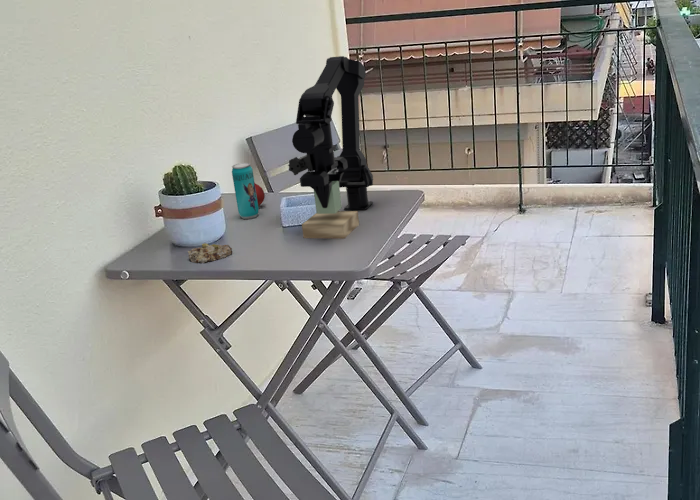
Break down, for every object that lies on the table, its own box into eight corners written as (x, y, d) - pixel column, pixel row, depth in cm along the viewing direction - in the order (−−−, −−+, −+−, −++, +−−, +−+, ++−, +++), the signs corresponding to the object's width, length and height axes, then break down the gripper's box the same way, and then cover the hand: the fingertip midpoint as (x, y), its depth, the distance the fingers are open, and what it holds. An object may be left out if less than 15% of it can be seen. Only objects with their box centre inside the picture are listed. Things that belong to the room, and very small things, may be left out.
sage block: (323, 207, 193) (320, 181, 191) (341, 207, 192) (338, 180, 189) (316, 213, 189) (313, 186, 186) (335, 213, 187) (332, 186, 185)
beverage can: (249, 220, 209) (241, 168, 204) (235, 218, 213) (226, 166, 208) (263, 214, 214) (255, 162, 209) (249, 212, 217) (241, 161, 212)
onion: (249, 205, 225) (245, 179, 222) (268, 204, 224) (264, 177, 221) (244, 210, 220) (240, 184, 217) (263, 209, 219) (259, 183, 216)
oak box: (320, 225, 199) (318, 211, 198) (359, 225, 195) (357, 211, 194) (303, 239, 189) (301, 224, 188) (344, 240, 185) (342, 224, 184)
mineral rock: (186, 258, 178) (186, 239, 184) (188, 273, 180) (189, 254, 187) (231, 253, 179) (231, 234, 185) (234, 267, 181) (233, 249, 188)
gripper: (304, 137, 196) (312, 194, 201) (275, 153, 179) (284, 216, 184) (344, 135, 192) (351, 194, 197) (319, 152, 175) (327, 215, 180)
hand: (328, 204), depth 190 cm, fingers closed on sage block, 5 cm apart
